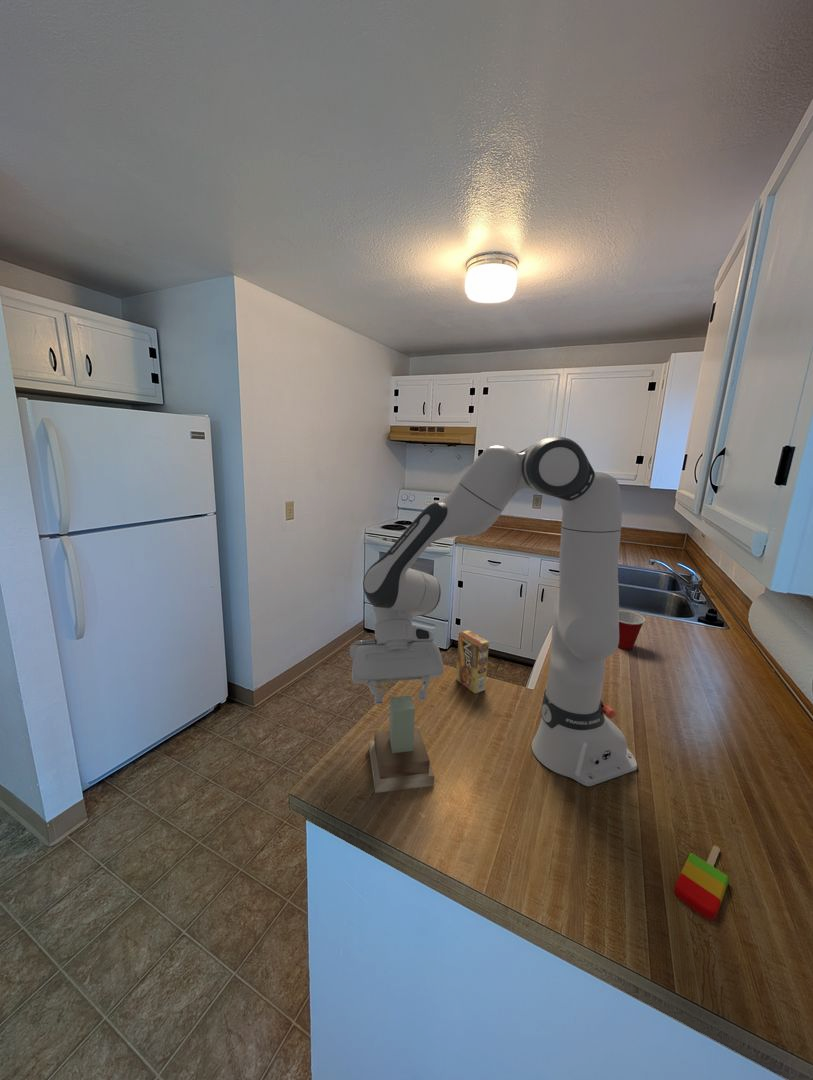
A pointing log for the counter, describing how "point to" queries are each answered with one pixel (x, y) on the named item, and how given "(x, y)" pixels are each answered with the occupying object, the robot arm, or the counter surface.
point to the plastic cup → (629, 628)
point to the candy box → (472, 661)
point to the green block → (402, 724)
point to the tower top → (400, 757)
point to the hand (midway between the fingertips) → (401, 701)
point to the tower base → (397, 782)
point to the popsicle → (702, 884)
